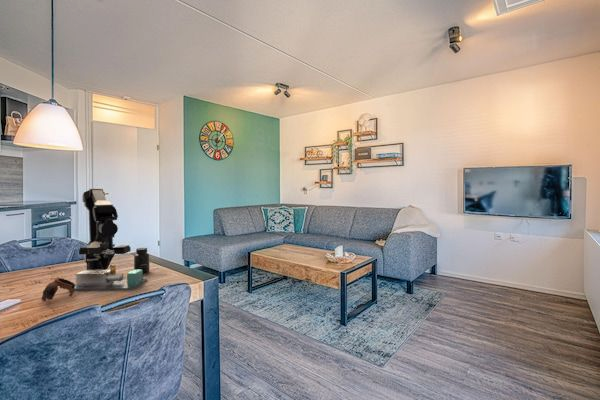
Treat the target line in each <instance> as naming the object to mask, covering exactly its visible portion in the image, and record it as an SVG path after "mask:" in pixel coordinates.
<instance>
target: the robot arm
mask: <svg viewBox="0 0 600 400" xmlns="http://www.w3.org/2000/svg"><path fill="white" fill-rule="evenodd" d="M82 203H84V205H83V206H84V207H85V208H86V210H87V211H88V228H89V229H88V230H89V241H88V242H87V244H86V245H84V246H81V247H79V249H78V255H83V261H84V263H85V264H86V270H109V268H110V264H111V262H112V261H113V258H114V257H115V255H125V254H128V253H130V252H131V246H130V245H129V244H127V245H125V244H124V245H123V244H120V245H118V246H116V244H115V243H114V239H113V238H115V235H116V234H117V232H118V229H119V227H118V225H117V224H116V223H115V222H114V221H117V220H118V218H119V215H118V211H117V209H116V207H115V206H114V205H113V204H112V202H110V201H108V200H107V199H106V193H105V191H104V189H103V188H101V187H91V188H89V189H88V190H86V191H84V192H83V193H82Z"/></svg>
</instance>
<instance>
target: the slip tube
mask: <svg viewBox="0 0 600 400" xmlns="http://www.w3.org/2000/svg"><path fill="white" fill-rule="evenodd" d="M116 265H117V264H111V265H110V264H109V270H110V274H107V281H122V280H123V279H124V273H117V270H116V269H117V268H116Z"/></svg>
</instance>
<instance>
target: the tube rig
mask: <svg viewBox="0 0 600 400" xmlns="http://www.w3.org/2000/svg"><path fill="white" fill-rule="evenodd" d="M107 274H110V269H107V270H87V269H84V270H82V271H80V272H77V273H76V274H75V285H76V286H75V287H74V289H75V291H74V292H90V291H91V292H93V291H94V292H95V291H97V292H99V291H101V292H102V291H103V292H104V291H106V292H107V291H116V292H117V291H134V289H135V290H136V289H137V288H139V287H141V286H142V285H143V284H145V283H147V282H148V279H147V278H144V277H143V276H144V275H143V270H142V269H138V270H134V269H133V270H131V271H129V272H127V273H126V278H123V280H122V281H107ZM68 291H69V292H70V290H68Z"/></svg>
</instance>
